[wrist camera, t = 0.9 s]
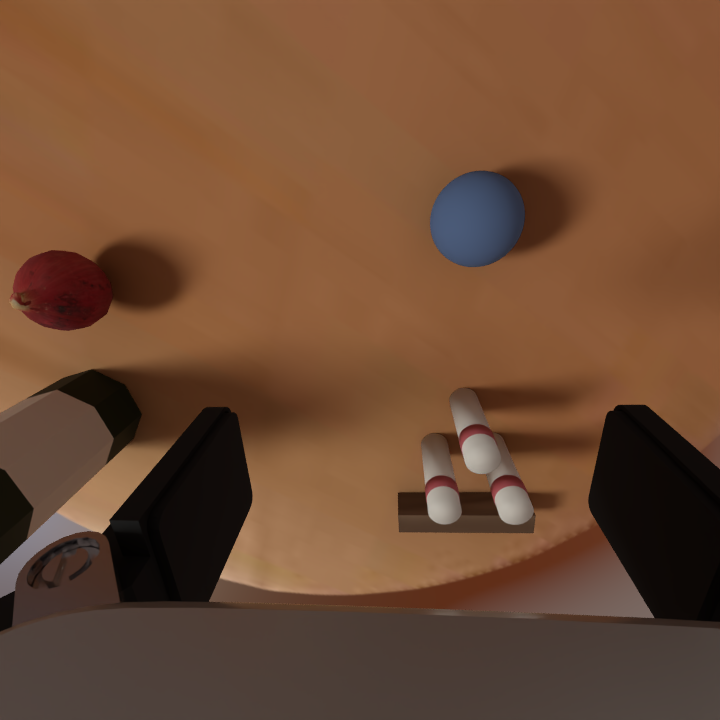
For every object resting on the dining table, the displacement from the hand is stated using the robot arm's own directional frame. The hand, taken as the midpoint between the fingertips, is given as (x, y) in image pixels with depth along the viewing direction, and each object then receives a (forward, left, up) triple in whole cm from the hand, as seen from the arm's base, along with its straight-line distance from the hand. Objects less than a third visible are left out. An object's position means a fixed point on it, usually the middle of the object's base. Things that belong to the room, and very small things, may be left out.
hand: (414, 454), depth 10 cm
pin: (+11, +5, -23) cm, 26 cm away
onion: (-1, -25, -23) cm, 34 cm away
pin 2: (+15, +8, -23) cm, 29 cm away
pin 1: (+15, +3, -23) cm, 28 cm away
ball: (-4, +5, -20) cm, 21 cm away
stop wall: (+22, +5, -23) cm, 32 cm away
